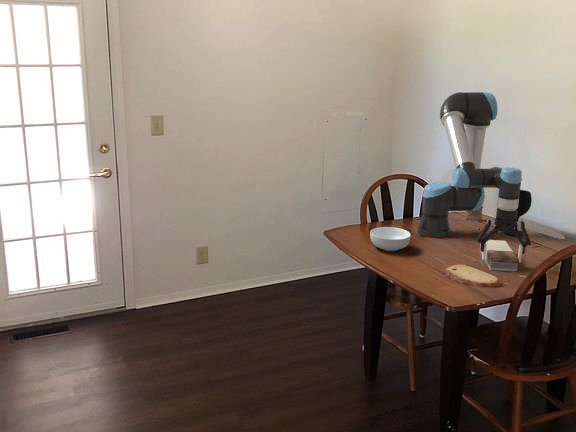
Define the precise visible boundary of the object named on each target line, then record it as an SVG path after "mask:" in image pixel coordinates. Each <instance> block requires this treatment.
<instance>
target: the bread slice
mask: <svg viewBox="0 0 576 432" xmlns="http://www.w3.org/2000/svg"><path fill="white" fill-rule="evenodd" d="M442 275H444V276H445V277H446V278H448V280H451V281H454V282H456V283H460V284H462V285H463V284H464V285H468V286H472V287H480V288H497V287H500V286H501V283H500V280H499V278H498V277H497V276H495V275H493V274H491V273H488V272H486V271H483V270H480V269H478V268H475V267H471V266H468V265H466V264H463V263H459V264H458V263H457V264H452V265H451V266H448V267H446V268H445V269H443V271H442Z"/></svg>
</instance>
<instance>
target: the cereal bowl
mask: <svg viewBox="0 0 576 432" xmlns="http://www.w3.org/2000/svg"><path fill="white" fill-rule="evenodd" d="M369 233H370V234H369V236H370V241H371V243H372V244H373V245H374V246H375V247H376V248H379V249H380V250H382V249H383V250H382V251H385V250H386V252H397V251H399V250H401V249H404V248H406V247H407V246H408V245H409V243H410V241H411V233H410V232H409V231H408V230H405V229H403V228H401V227H400V228H399V227H392V226H382V227H376V228H373V229H371V230H370V232H369Z"/></svg>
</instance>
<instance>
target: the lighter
mask: <svg viewBox="0 0 576 432" xmlns="http://www.w3.org/2000/svg"><path fill="white" fill-rule="evenodd" d="M483 208H484V206H483V205H482V207H481V208H480V209H479V210H477V211H470V212H467V211H465V216H464V221H467V222H482V220H483V219H482V218H483V217H482V216H483Z"/></svg>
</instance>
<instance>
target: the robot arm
mask: <svg viewBox="0 0 576 432" xmlns="http://www.w3.org/2000/svg"><path fill="white" fill-rule="evenodd" d="M498 112H499V111H498V102H497V99H496V96H495V95H494V94H493V93H491V92H483V91H482V92H481V91H480V92H479V91H478V92H476V91H475V92H463V91H461V92H460V91H459V92H458V91H457V92H455V93H452V94H450V95H449V96H448V97H447V98H445V100H444V101H443V103H442V105H441V107H440V111H439V118H440V123H441V125H442V126H444V129H445V132H446V137H447V140H448V142H449V147H450V151H451V155H452V159H453V163H454V167H455V168H454V170H452V174H451V181H452V185H451V183H449V182H448V181H447V182H444V181H443V182H442V181H437V182H431V183H428V184H426V185H425V186H424V190H423V194H422V197H423V200H422V210H421V211H422V212H421V217H420V220H419V222H418V224H417V226H416V233H417V234H419V235H421V236H423V237H426V238H427V237H428V238H435V239H436V238H439V239H440V238H441V239H442V238H447V237H450V236H451V234H452V233H451V232H452V231H451V225H450V222H449V212H466V211H467V212H470V211H477V210H479V209H480V208H481V207H482V206H483V205H484V202H485V195H486V194H485V193H486V192H485V189H487V188H489V189H490V188H492V189H495V188H496V189H498V195H497V208H496V214H495V219H490V218H487V220H486V224H485V225H484V227H483V228H481V229H482V230H481V231H480V233H479V234H478V235H477V236H476V239H475V240H476V241H477V243H481V246H480V245H479V251H480V250H481V252H483V253H482V254H481V259H482V261H485V257H486V247H487V244H486V242H487V241H488V240H491V239H492V238H493V237H494V235H496V234H497V233H499V232H500V233H504V232H510V231H512V232H513V233H514V235H515V236H516V239H517V240H518V241H519V242H520V243H519V245H518V251H517V252H518V253H517V263H522V256H523V255H525V252H526V247H527V246H531V245H532V242H531V240H530V237H529V234H528V232H527V229H526V225H525V224H526V223H525V221H524V220H522V219H521V220H518V221H516V219H517V208H518V202H519V193H520V190H521V184H522V180H523V179H522V169H519V168H517V167H516V168H515V167H499V166H493V167H492V166H491V167H490V168H481V164H482V159H483V157H482V156H483V151H484V144H485V138H486V131H487V130H486V129H488V128H489V127H490V126H491V121H494V120H496V119H497V115H498ZM484 188H485V189H484ZM493 225H495V226H493ZM516 225H518V227H519V228H520V231H522V233H523V235H524V237H520V236H519V235H518V233H517V232H516V231H515V227H516ZM491 226H493V228H492V230H490V231H489V229H490V228H491ZM488 231H489V232H488ZM523 238H524V240H525V241H524V240H523ZM481 252H480V253H481ZM485 262H486V261H485Z"/></svg>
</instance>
